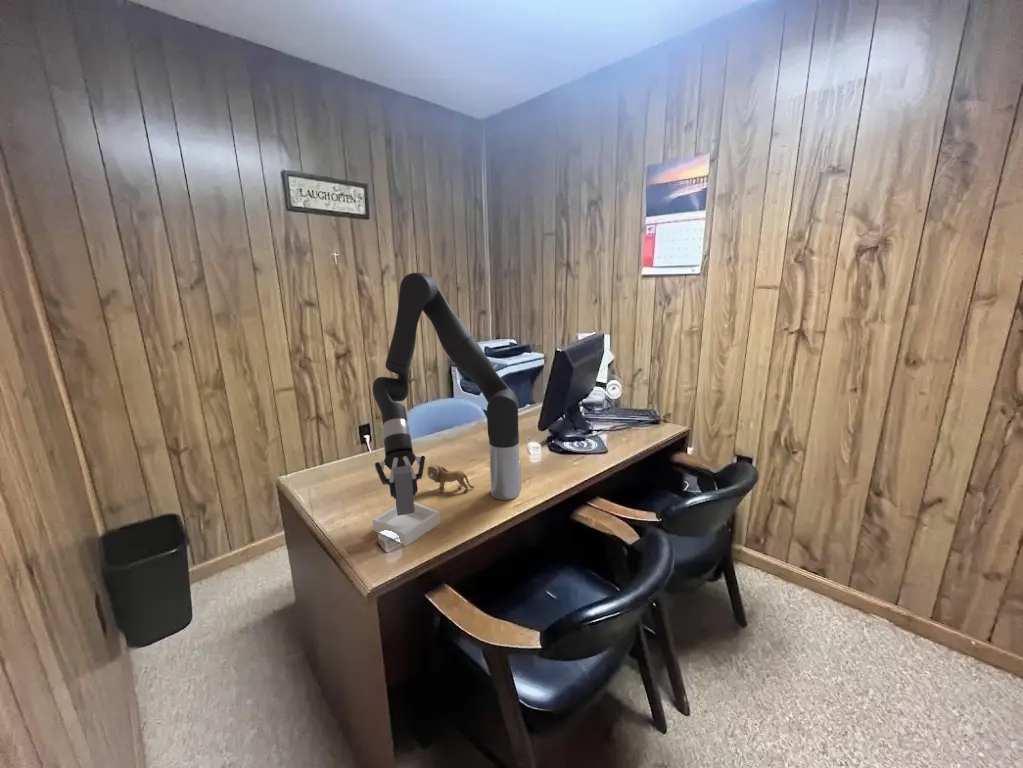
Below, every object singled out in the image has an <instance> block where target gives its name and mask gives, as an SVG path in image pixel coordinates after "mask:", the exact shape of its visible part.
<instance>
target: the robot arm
mask: <svg viewBox="0 0 1023 768" xmlns="http://www.w3.org/2000/svg"><path fill="white" fill-rule="evenodd" d="M399 286H400V287H399V291H398V294H399V295H398V305H397V313H396V318H395V324H394V329H393V334H392V339H391V341H390V344H389V350H388V353H387V356H386V361H385V369H386V370H388V371H389V372H391V373H394V374H397V378H396V377H387V376H378V377H377V378H375V380H374V381H373V383H372V387H371V388H372V389H371V390H372V395H373V397H374V400H375V402H376V405H377V406H378V409H379V411H380V414H381V420H382V440H383V447H384V457H385V458H384V460H383V461H380V462H375V464H374V468H375V471H376V472H377V475H378V477H379V479H380V481H381V484H382V485H384V486H385V485H388V487H389V493H390V496H391V497H392V498H393V500H394V499H395V500H396V497H397V496H396V490H395V483H394V472H393V468H395V467H401V466H408V465H410V468H411V472H412V484H413V497H414V496H416V493H418V489H419V488H418V483H417V481H419V480H421V479H423V473H424V469H425V468H424V467H425V463H426V462H425V461H426V456H424V455H420V456H417V455H416V454H415V453H414V450H413V442H412V437H411V431H410V426H409V422H408V416H407V409H406V407H405V405H404V404H402V403H400V402H403V401H405V400H406V399H407V397H408V395H409V390H410V388H409V387H410V386H409V380H410V377H409V375H410V367H411V364H412V360H413V356H414V353H415V348H416V340H417V339H416V338H417V330H418V329H417V328H418V324H419V320H420V317H421V315H422V312H423V313H424V314H425V315H426V317H427V318H428V320H429V321H430V323H431V324H432V326H433V327H434V331H435V332H436V333H435V334H436V335H437V338H438V340H439V342H440V344H441V347H442V348H443V349H444V351H445V353H446V354H447V356H448V357H449V359H450V360H451V361H452V363H453V364H454V366H456V367H457V369H458V370H459V371H460V372H461V373H463V374H464V376H466V377H467V378H468V379H470V380H471V381H472V382H473V384H475V385H476V386H477V388H478V389H479V390H480V392H481V393H482V395H483V396H484V398H485V400H486V402H487V406H486V420H487V421H486V422H487V426H486V427H487V436H488V446H489V448H488V450H489V477H490V478H489V479H490V481H489V482H490V495H491V496H492V497H493V498H494V499H496V500H500V501H501V500H502V501H509V500H513V499H516V498H518V497H519V495H520V493H521V490H522V476H521V475H522V471H521V470H522V465H521V461H520V433H519V406H520V404H519V399H518V396H517V395H516V394H515V392H514V391H513V390H512V389H511V387H509V385H507V383H506V382H505V381H504V380H503V379H502V377H500V375H499V374H498V373H497V372H496V370H495V369H494V367H493V365H492V363H491V361H490V360H489V359H488V356H487V355H486V354H485V352H484V351H483V349H482V348H481V346H480V344H479V343H478V342H477V340H476V339H475V337H474V336H473V334H472V333H471V332H470V331H469V330H468V328H467V327H466V326H465V324H464V323H463V321H462V320H461V319H460V318H459V316H458V315H456V313H455V312H454V310H453V309H452V307H451V306H450V305H449V303H448V301H447V300H446V298H445V296H444V295H443V292H442V291H441V289H440V287H439V285H438V283H437V282H436V281H435V279H434V278H433V277H432V276H431V275H430V274H427V273H424V272H411V273H409V274H407V275H405V276H404V277H403V278H402V279H401V282H400V285H399ZM415 461H416V465H418V471H417V473H415V471H414V468H413V464H414V463H415ZM385 466H386V467H387V468H388V469H389V470H390V474H389V475H390V476H389V478H387V476H386V475H385V472H384V470H385Z"/></svg>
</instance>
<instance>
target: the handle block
mask: <svg viewBox="0 0 1023 768" xmlns="http://www.w3.org/2000/svg"><path fill="white" fill-rule="evenodd" d="M393 472H394V483H395V490H396V496H397V497H396V499H395V507H396V509H397V514H398V516H400V515H405V514H411V513H415V512H414V502H415V501H414V499H415V498H414V496H413V484H412V472H411V468H410V465H408V466H401V467H395V468H393Z"/></svg>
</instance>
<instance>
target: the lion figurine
mask: <svg viewBox="0 0 1023 768" xmlns="http://www.w3.org/2000/svg"><path fill="white" fill-rule="evenodd" d="M466 474H467V473H465V472H464V471H462V470H460V469H458V470H447V469H446V468H445V467H442V466H440V465H438V464H430V465H429V466H428V467H427V477H428V478H429V480H432V481H434V483H439V485H440V486H439V489H440V490H439V492H440V493H443V492H445V483H453V482H456V481H457V483H458V484H459V485H458V486H457V488H458V489H462V488H464V491H463V492H464V493H469V487H470V488H471V489H474V488H475V487H474V486H473V485H471V484H470V481H469V479H468V477H467V475H466ZM464 479H465V480H466V482H465V480H464ZM467 484H468V485H467Z"/></svg>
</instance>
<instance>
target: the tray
mask: <svg viewBox="0 0 1023 768" xmlns="http://www.w3.org/2000/svg"><path fill="white" fill-rule="evenodd" d="M414 512H415V513H411V514H405V515H400V516H398V514H397V509H396V506H395V507H393V508H391V509H389V510H387V511H386V512H384V513H382V514H380V515H379V516H377V517H375V518H373V519H372V523H373V531H374V532H375V533H378V534H379V532H381V531H384V530H388V531H392V532H394V533H396V534H397V535H398V536H399V539H400V542H401V544H400V545H403V546H404V547H407V546H409V545H410V544H411V543H413V542H415V541H416V540H417V539H419V538H421V537H422V536H423V535H425V534H426V533H428V532H429V531H431V530H432V529H434V528H436V527H437V526H438V525H440V524H441V516H440V515H441V512H440V511H439V510H435V509H433V508H431V507H428V506H425V505H423V504H420V503H417V502H415V501H414Z"/></svg>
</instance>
